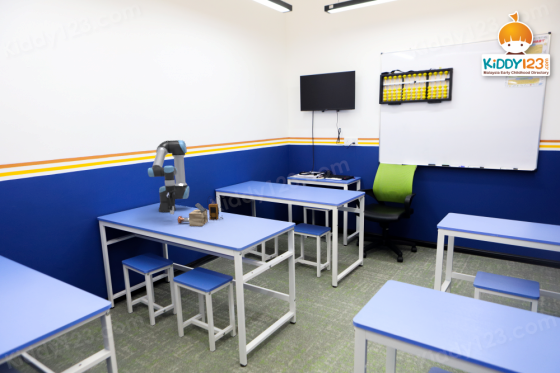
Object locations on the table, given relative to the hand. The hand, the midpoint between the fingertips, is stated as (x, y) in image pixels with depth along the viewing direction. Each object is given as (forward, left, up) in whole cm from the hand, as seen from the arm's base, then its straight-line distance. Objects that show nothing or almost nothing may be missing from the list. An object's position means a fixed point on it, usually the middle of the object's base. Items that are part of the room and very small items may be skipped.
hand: (172, 213), depth 285 cm
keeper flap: (0, +23, +5) cm, 24 cm away
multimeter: (-17, +30, -8) cm, 36 cm away
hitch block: (0, +22, -8) cm, 23 cm away
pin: (0, +13, -8) cm, 15 cm away
